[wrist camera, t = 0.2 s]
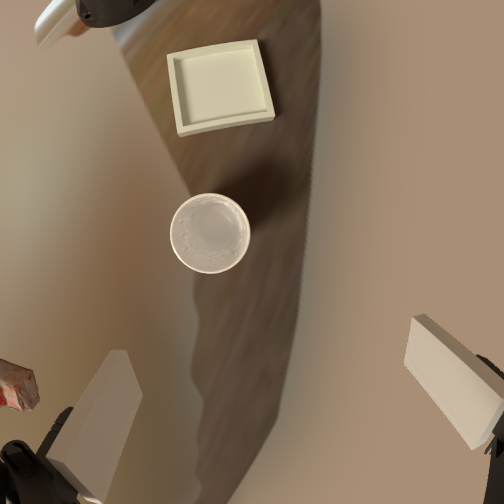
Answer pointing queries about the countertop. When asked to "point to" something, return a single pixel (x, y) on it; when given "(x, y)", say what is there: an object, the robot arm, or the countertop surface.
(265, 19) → the countertop surface
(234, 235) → the white cup
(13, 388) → the food item
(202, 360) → the countertop surface
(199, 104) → the coaster tray
